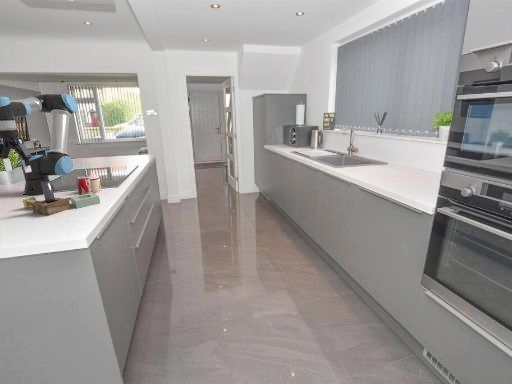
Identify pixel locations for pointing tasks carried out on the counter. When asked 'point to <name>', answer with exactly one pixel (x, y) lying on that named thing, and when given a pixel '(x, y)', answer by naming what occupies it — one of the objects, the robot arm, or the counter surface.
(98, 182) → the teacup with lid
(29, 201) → the tan t-shaped block
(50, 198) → the dark grey peg
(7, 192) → the counter surface
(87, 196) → the green square frame
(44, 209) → the socket block
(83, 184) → the soda can
